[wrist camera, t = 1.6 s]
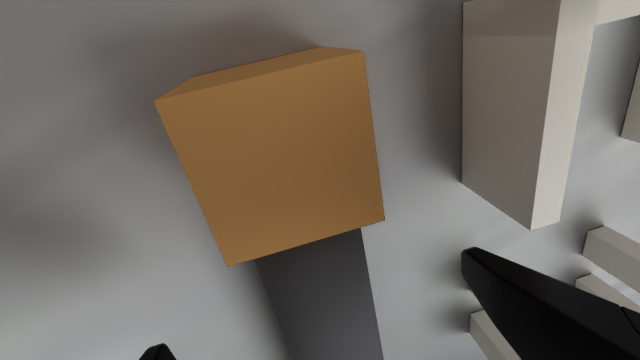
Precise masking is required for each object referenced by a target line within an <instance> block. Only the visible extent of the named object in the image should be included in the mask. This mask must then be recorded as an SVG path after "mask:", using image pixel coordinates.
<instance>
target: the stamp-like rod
mask: <svg viewBox="0 0 640 360" xmlns="http://www.w3.org/2000/svg"><path fill="white" fill-rule="evenodd" d="M153 102H154V104H155V106H156V109H157V111H158V113H159V115H160V118H161V120H162V122H163V124H164V127H165V129H166V131H167V133H168V135H169V138H170V140H171V142H172V144H173V147H174V149H175V151H176V153H177V156H178V158H179V160H180V162H181V164H182V167H183V169H184V171H185V173H186V176H187V178H188V180H189V182H190V185H191V187H192V189H193V191H194V194H195V196H196V198H197V200H198V202H199V205H200V207H201V209H202V211H203V214H204V216H205V218H206V220H207V223H208V225H209V227H210V229H211V231H212V234H213V236H214V238H215V240H216V243H217V245H218V247H219V249H220V252H221V254H222V256H223V258H224V260H225V263H226V265H227V267H229V266H233V265H236V264H239V263H243V262H246V261H249V260H253V259H254V261H255V263H256V266H257V268H258V271H259V274H260V276H261V279H262V281H263V284H264V286H265V289H266V292H267V294H268V297H269V299H270V302H271V304H272V307H273V309H274V312H275V315H276V317H277V320H278V322H279V325H280V327H281V330H282V332H283V335H284V338H285V340H286V343H287V345H288V348H289V350H290V353H291V356H292V358H293V360H384V359H383V353H382V348H381V342H380V336H379V330H378V325H377V319H376V313H375V308H374V302H373V296H372V290H371V285H370V279H369V273H368V268H367V262H366V256H365V250H364V245H363V239H362V233H361V227H364V226H367V225H370V224H374V223H377V222H380V221H384V220H385V216H384V208H383V200H382V192H381V185H380V177H379V169H378V161H377V154H376V146H375V138H374V130H373V123H372V115H371V107H370V99H369V91H368V84H367V76H366V68H365V60H364V53H363V51H361V50H350V49H340V48H330V47H317V48H313V49H309V50H305V51H300V52H296V53H292V54H288V55H283V56H279V57H275V58H271V59H266V60H262V61H258V62H254V63H249V64H245V65H241V66H237V67H232V68H228V69H224V70H220V71H216V72H211V73H207V74H203V75H199V76H194V77H191V78H189V79H188V80H186V81H185V82H183V83H181V84H180V85H178V86H177V87H175V88H174V89H172V90H170V91H169V92H167V93H166V94H164V95H162V96H161V97H159V98H158V99H156V100H154V101H153Z"/></svg>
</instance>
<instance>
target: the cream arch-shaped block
mask: <svg viewBox="0 0 640 360" xmlns="http://www.w3.org/2000/svg"><path fill="white" fill-rule="evenodd" d="M637 15H640V0H473V1H469V2H464V3H463V103H462V184H463V185H465V186H466V187H468V188H469V189H471V190H472V191H473V192H475V193H476V194H478V195H479V196H481V197H482V198H484V199H485V200H486V201H488V202H489V203H491V204H492V205H494V206H495V207H497V208H498V209H500V210H501V211H502V212H504V213H505V214H507V215H508V216H510V217H511V218H513V219H514V220H515V221H517V222H518V223H520V224H521V225H523V226H524V227H526V228H527V229H529V230H530V231H531V230H535V229H538V228H541V227H544V226H547V225H551V224H554V223H557V222H559V220H560V214H561V209H562V203H563V198H564V192H565V187H566V181H567V176H568V170H569V165H570V159H571V154H572V148H573V143H574V137H575V132H576V126H577V121H578V115H579V110H580V104H581V99H582V93H583V88H584V82H585V77H586V71H587V66H588V60H589V55H590V49H591V44H592V38H593V33H594V27H595V26H597V25H601V24H605V23H609V22H613V21H617V20H621V19H625V18H629V17H633V16H637ZM621 138H624V139H627V140H631V141H635V142H639V143H640V63H639V67H638V71H637V75H636V79H635V83H634V87H633V91H632V94H631V98H630V102H629V106H628V110H627V114H626V118H625V122H624V126H623V130H622V134H621Z"/></svg>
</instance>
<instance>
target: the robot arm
mask: <svg viewBox="0 0 640 360" xmlns="http://www.w3.org/2000/svg"><path fill="white" fill-rule="evenodd" d="M461 272H462V275H463V277H464V279H465V281H466V282H467V284H468V285H469V287H470V288H471V290H472V292H473V293H474V295H475V296H476V298H477V299H478V301H479V303H480V304H481V306H482V307H483V309H484V310H485V312H486V313H487V315H488V317H489V318H490V320H491V321H492V322H493V324H494V325H495V327H496V328H497V329H498V331H499V332H500V333H501V334H502V336H503V337H504V338H505V339H506V341H507V342H508V343H509V345H510V346H511V347H512V348H513V350H514V351H515V352H516V353H517V355H518V356H519V357H520V359H521V360H640V313H639V312H636V311H634V310H631V309H629V308H626V307H624V306H621V307H620V306H619V305H618V304H616V303H614V302H611V301H609V300H606V299H604V298H601V297H599V296H596V295H594V294H591V293H589V292H586V291H584V290H581V289H579V288H577V287H574V286H572V285H569V284H567V283H564V282H562V281H559V280H557V279H554V278H552V277H549V276H547V275H544V274H542V273H539V272H537V271H534V270H532V269H530V268H527V267H525V266H522V265H520V264H517V263H515V262H512V261H510V260H507V259H505V258H502V257H500V256H497V255H495V254H492V253H490V252H488V251H485V250H483V249H480V248H478V247H471V248H468V249H465V250H463V251H462V253H461ZM139 360H176V358H175V357H174V355H173V354H172V352H171V351H170V349H169V348H168V346H167V345H166V344H164V343H162V344H158V345H155V346H152V347H150V348H148V349H147V350H146V351H145V352H144V354H143V355H142V356H141V358H140V359H139Z"/></svg>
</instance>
